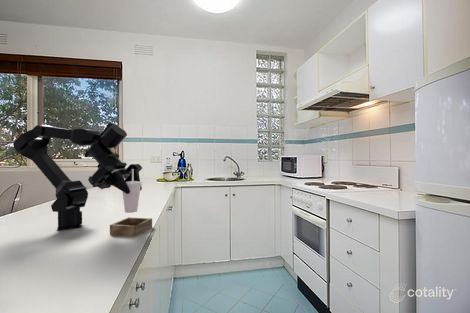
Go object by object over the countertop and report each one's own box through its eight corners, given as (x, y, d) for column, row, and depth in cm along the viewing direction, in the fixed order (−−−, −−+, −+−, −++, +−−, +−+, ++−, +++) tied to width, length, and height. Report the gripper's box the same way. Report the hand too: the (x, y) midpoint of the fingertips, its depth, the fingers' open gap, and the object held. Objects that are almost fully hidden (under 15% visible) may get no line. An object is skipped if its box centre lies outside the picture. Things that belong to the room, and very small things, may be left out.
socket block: (109, 234, 73) (109, 225, 73) (128, 225, 83) (128, 217, 82) (136, 236, 72) (136, 226, 72) (152, 227, 81) (152, 218, 81)
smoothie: (145, 210, 79) (146, 168, 79) (131, 214, 73) (132, 169, 73) (130, 208, 81) (131, 168, 81) (115, 212, 75) (116, 169, 75)
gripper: (110, 172, 89) (136, 202, 87) (66, 176, 71) (98, 215, 69) (129, 151, 88) (156, 181, 86) (89, 150, 69) (122, 189, 67)
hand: (135, 191), depth 77 cm, fingers closed on smoothie, 6 cm apart
